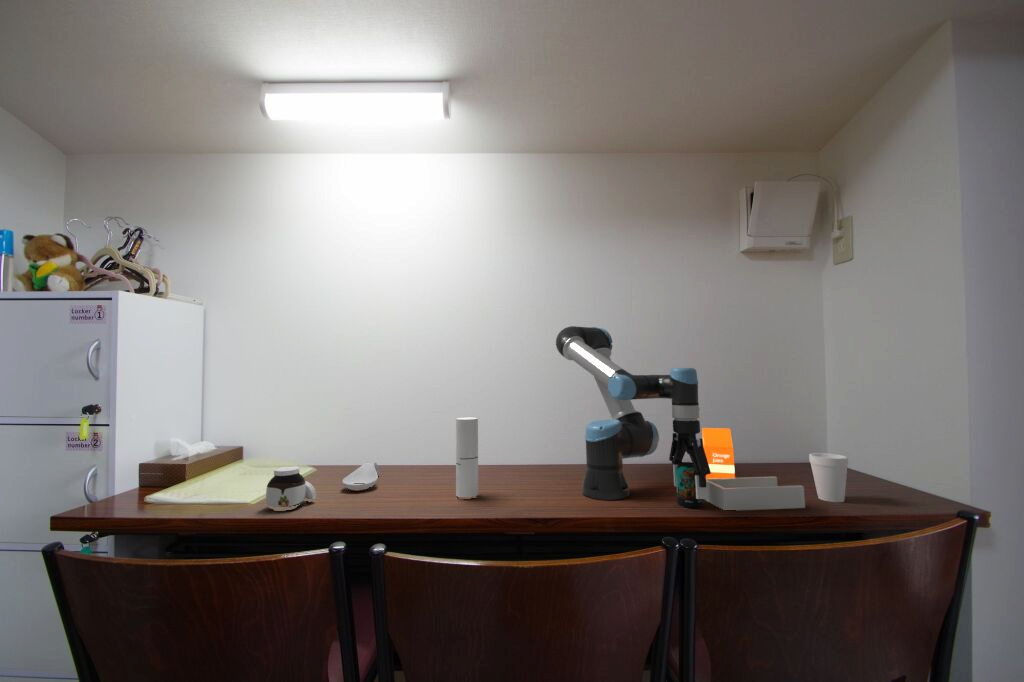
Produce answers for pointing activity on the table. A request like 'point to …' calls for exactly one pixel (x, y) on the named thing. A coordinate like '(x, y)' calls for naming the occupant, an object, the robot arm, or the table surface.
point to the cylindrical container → (466, 457)
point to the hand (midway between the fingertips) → (689, 492)
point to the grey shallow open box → (753, 494)
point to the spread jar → (288, 488)
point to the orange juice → (719, 452)
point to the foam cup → (829, 475)
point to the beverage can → (687, 485)
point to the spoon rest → (362, 477)
